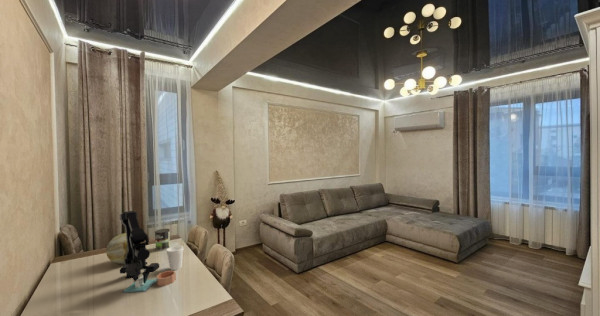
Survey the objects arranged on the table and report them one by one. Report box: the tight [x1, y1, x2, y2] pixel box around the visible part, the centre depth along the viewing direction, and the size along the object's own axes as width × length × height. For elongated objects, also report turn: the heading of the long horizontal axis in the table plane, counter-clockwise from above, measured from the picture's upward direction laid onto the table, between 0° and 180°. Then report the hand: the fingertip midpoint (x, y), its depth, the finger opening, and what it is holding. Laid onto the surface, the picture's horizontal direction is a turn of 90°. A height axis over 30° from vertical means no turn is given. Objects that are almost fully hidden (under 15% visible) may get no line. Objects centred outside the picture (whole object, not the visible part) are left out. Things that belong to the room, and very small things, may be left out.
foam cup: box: [166, 245, 185, 271], centre depth 159 cm, size 10×9×13 cm
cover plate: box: [123, 275, 157, 292], centre depth 138 cm, size 11×11×4 cm
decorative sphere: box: [105, 232, 128, 265], centre depth 172 cm, size 20×20×20 cm
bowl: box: [156, 270, 177, 287], centre depth 142 cm, size 9×9×4 cm
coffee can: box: [154, 228, 171, 252], centre depth 196 cm, size 10×10×14 cm
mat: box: [121, 281, 157, 294], centre depth 138 cm, size 13×13×1 cm
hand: (140, 283), depth 138 cm, fingers open, 4 cm apart
